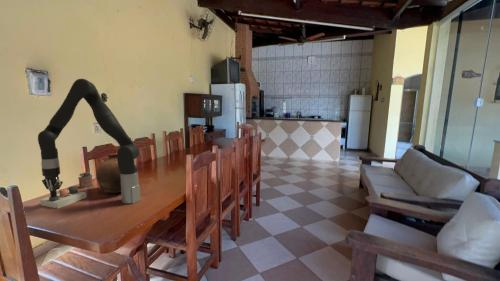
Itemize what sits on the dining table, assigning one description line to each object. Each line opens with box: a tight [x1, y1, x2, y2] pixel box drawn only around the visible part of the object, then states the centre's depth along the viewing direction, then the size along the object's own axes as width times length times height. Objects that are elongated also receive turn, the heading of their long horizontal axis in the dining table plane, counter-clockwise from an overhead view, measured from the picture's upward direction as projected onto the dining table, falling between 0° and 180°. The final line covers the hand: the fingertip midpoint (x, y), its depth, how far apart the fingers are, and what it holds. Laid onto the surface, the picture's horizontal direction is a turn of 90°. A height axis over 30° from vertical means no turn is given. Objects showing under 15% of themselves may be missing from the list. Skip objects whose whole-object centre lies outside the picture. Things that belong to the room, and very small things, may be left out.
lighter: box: [77, 171, 94, 190], centre depth 162 cm, size 8×3×10 cm, turn 149°
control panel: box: [39, 189, 88, 209], centre depth 139 cm, size 13×16×3 cm
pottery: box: [95, 153, 136, 194], centre depth 155 cm, size 23×23×25 cm
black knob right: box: [68, 185, 79, 193], centre depth 144 cm, size 4×4×3 cm
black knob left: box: [48, 196, 59, 202], centre depth 134 cm, size 4×4×3 cm
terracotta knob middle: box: [58, 188, 69, 197], centre depth 138 cm, size 4×4×3 cm
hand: (53, 196), depth 133 cm, fingers closed
